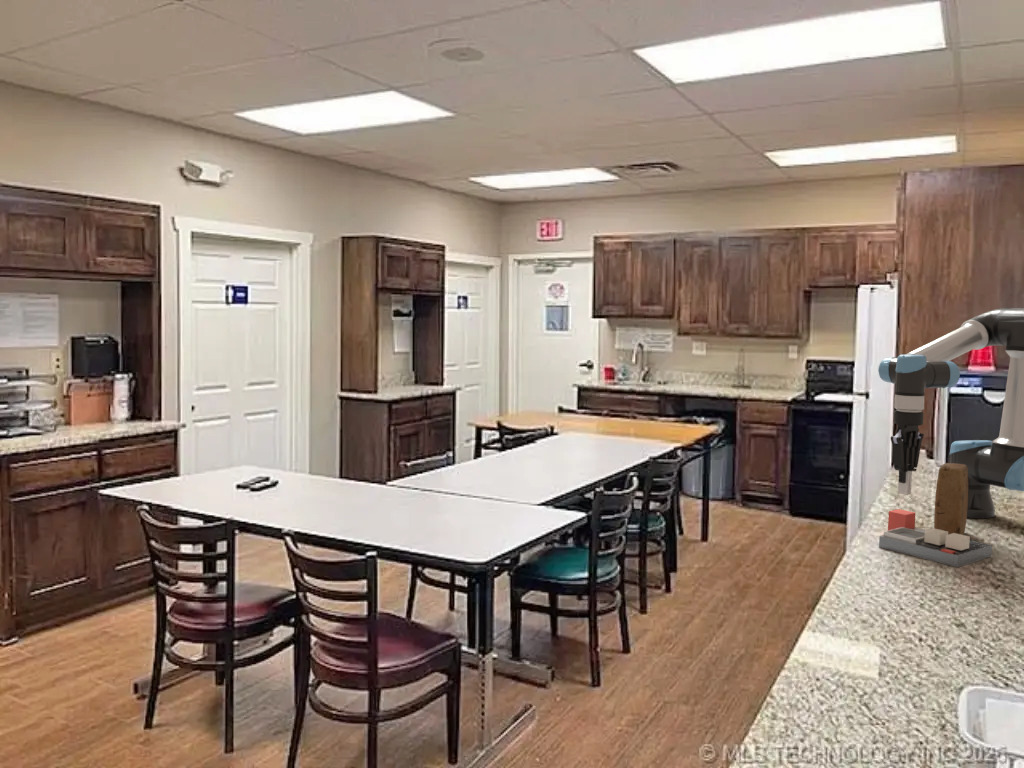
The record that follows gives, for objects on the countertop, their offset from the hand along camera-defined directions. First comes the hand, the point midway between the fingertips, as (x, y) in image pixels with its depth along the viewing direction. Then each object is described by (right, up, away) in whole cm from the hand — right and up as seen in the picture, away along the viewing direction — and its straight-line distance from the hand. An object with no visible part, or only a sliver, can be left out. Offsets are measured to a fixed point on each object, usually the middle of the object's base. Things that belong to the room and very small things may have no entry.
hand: (904, 493), depth 238 cm
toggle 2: (+3, -11, -22) cm, 25 cm away
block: (+15, -12, +5) cm, 20 cm away
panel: (+2, -14, -14) cm, 19 cm away
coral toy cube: (0, -12, +1) cm, 12 cm away
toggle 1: (0, -10, -17) cm, 20 cm away
